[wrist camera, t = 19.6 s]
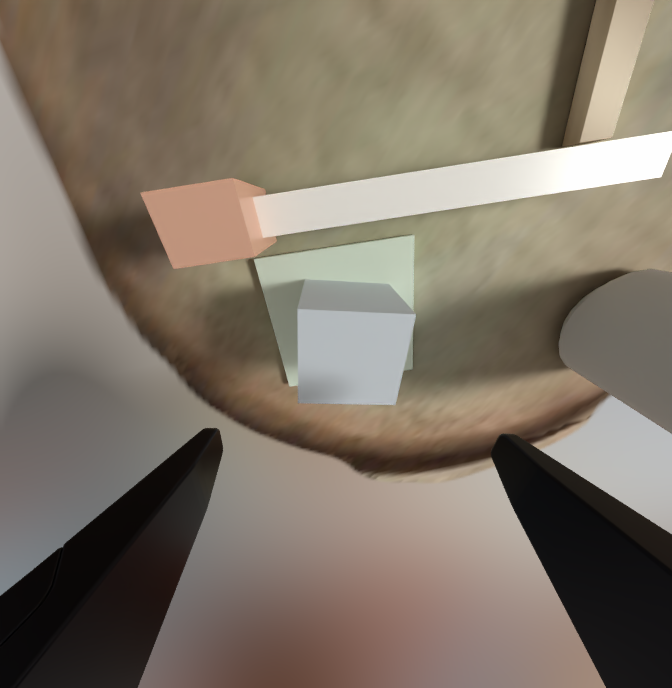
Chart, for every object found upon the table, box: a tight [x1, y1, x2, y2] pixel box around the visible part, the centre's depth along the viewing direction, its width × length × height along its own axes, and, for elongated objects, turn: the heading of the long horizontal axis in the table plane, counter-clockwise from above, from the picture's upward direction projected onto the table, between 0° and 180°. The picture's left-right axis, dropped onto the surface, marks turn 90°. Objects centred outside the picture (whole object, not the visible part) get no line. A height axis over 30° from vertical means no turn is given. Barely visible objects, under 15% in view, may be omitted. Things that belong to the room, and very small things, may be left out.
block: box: [297, 279, 416, 405], centre depth 14 cm, size 5×5×5 cm
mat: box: [254, 234, 414, 386], centre depth 16 cm, size 9×9×1 cm
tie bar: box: [141, 131, 672, 269], centre depth 11 cm, size 2×20×5 cm, turn 98°
